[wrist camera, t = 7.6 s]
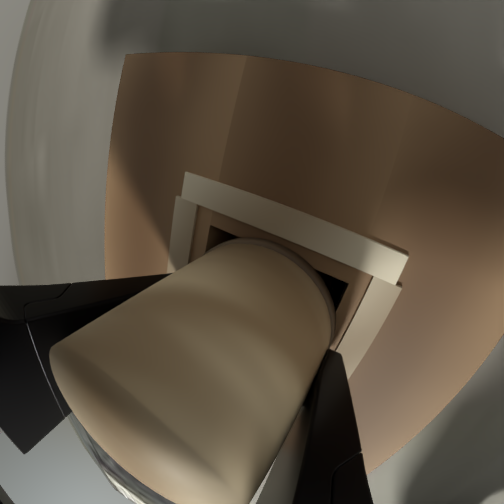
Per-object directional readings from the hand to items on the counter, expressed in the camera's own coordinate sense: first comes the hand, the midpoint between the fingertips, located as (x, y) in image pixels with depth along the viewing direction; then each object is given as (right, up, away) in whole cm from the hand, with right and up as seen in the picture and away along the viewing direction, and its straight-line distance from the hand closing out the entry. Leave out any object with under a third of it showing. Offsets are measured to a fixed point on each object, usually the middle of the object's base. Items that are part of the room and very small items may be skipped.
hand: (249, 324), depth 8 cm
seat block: (+2, +1, +3) cm, 4 cm away
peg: (+2, +1, +3) cm, 4 cm away
